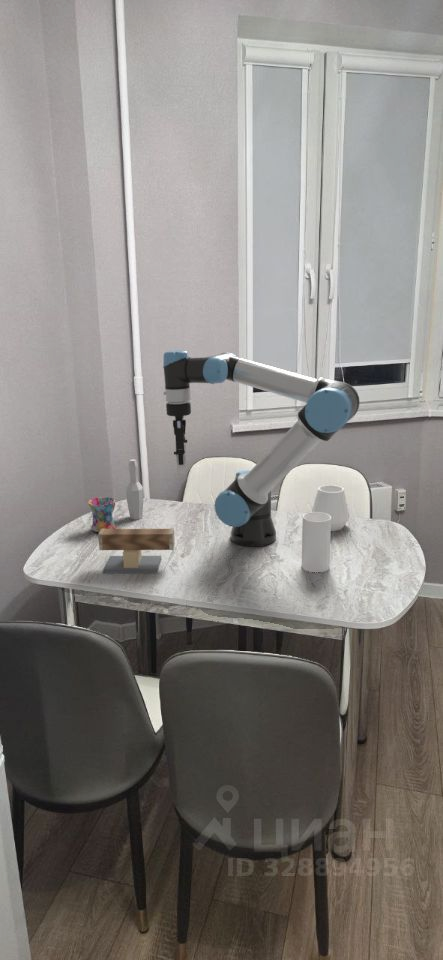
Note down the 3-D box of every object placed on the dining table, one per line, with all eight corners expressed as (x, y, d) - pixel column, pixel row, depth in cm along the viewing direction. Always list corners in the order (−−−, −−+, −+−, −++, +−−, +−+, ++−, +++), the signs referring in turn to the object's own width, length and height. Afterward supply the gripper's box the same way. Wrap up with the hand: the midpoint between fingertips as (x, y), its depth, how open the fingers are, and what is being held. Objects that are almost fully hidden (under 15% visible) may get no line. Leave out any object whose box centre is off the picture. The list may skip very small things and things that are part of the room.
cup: (312, 575, 179) (313, 523, 174) (296, 564, 186) (297, 514, 181) (334, 569, 182) (336, 518, 178) (318, 559, 189) (319, 510, 185)
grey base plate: (161, 559, 191) (160, 540, 189) (157, 573, 182) (156, 553, 180) (110, 559, 192) (108, 540, 190) (103, 573, 182) (101, 553, 180)
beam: (174, 544, 187) (173, 528, 185) (173, 549, 182) (172, 533, 181) (102, 544, 187) (101, 528, 186) (99, 550, 183) (98, 534, 181)
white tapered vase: (352, 533, 210) (354, 494, 206) (312, 533, 210) (314, 494, 206) (345, 519, 222) (346, 482, 218) (308, 519, 223) (309, 483, 219)
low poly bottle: (125, 520, 225) (121, 462, 219) (130, 514, 231) (127, 457, 225) (142, 520, 224) (138, 462, 218) (146, 514, 230) (143, 458, 224)
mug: (106, 536, 211) (104, 506, 208) (84, 532, 215) (82, 503, 211) (126, 524, 221) (124, 496, 218) (105, 521, 225) (103, 493, 222)
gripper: (167, 396, 201) (171, 459, 207) (164, 409, 177) (168, 480, 183) (190, 395, 201) (193, 458, 207) (190, 408, 177) (194, 478, 183)
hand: (182, 468), depth 195 cm, fingers open, 13 cm apart
